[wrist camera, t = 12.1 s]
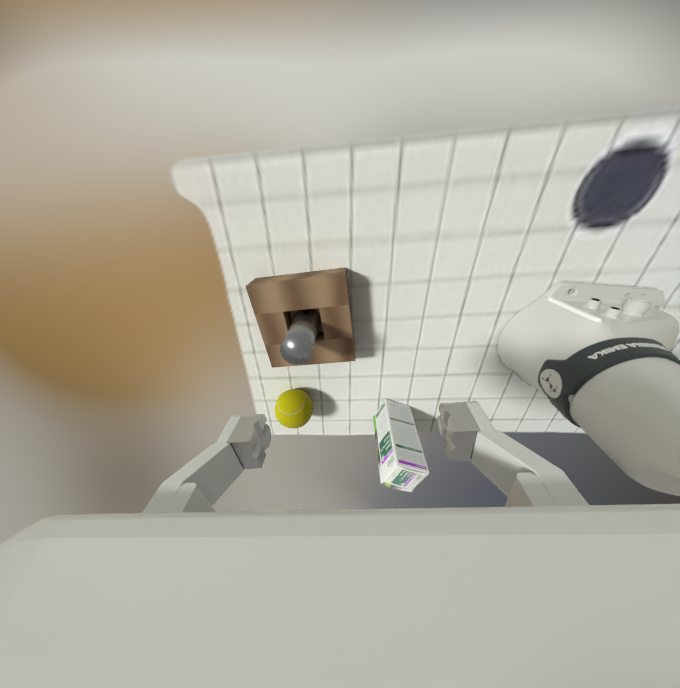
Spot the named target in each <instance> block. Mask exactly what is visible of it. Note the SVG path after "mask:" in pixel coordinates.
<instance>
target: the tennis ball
mask: <svg viewBox="0 0 680 688" xmlns="http://www.w3.org/2000/svg"><path fill="white" fill-rule="evenodd" d="M312 411H313V404H312V401H311V398H310V397H309V395H308V394H307V393H305V392H304V391H302V390H298V389H291V390H288V391H285V392H284V393H282V394H281V395H280V396H279V398H278V399H277V402H276V405H275V414H276V417H277V419H278V421H279V422H280V423H281V424H282V425H283V426H285V427H288V428H298V427H301V426H303V425H305V424H306V423H307V422H308V421H309V419H310V417H311V415H312Z"/></svg>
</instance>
